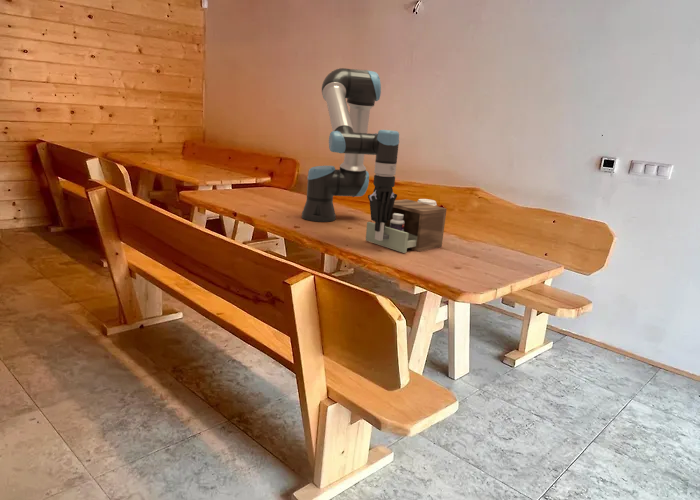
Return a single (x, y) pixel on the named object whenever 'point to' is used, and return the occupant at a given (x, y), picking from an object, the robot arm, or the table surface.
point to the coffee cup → (427, 201)
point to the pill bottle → (397, 222)
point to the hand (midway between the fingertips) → (378, 239)
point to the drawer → (392, 238)
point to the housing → (421, 222)
